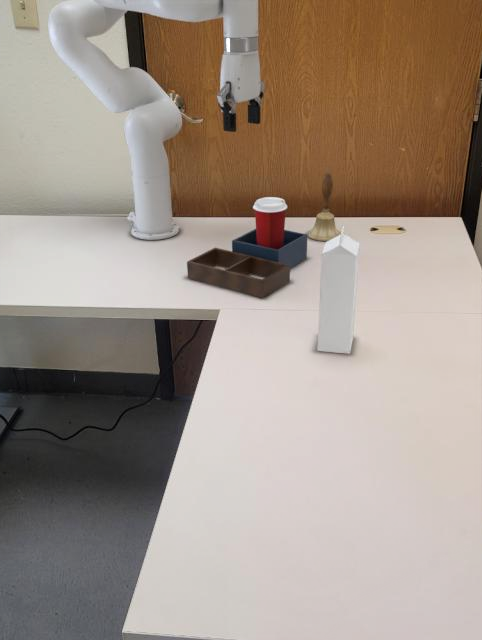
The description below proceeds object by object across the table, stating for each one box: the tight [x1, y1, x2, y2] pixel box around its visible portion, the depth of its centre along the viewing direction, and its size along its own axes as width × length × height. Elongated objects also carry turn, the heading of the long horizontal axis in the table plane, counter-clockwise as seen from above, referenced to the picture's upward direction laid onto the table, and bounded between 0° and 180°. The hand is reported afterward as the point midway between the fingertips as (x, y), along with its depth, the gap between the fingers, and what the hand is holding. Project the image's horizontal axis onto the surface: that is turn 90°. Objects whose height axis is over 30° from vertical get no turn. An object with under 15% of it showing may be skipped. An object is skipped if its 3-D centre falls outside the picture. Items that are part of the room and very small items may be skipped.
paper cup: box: [252, 196, 288, 250], centre depth 166 cm, size 8×8×14 cm
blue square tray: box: [231, 228, 309, 270], centre depth 169 cm, size 13×13×6 cm
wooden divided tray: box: [186, 247, 291, 299], centre depth 160 cm, size 20×11×4 cm, turn 54°
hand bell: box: [307, 172, 341, 242], centre depth 180 cm, size 8×8×16 cm
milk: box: [316, 225, 361, 355], centre depth 128 cm, size 6×6×22 cm
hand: (242, 127), depth 166 cm, fingers open, 9 cm apart
